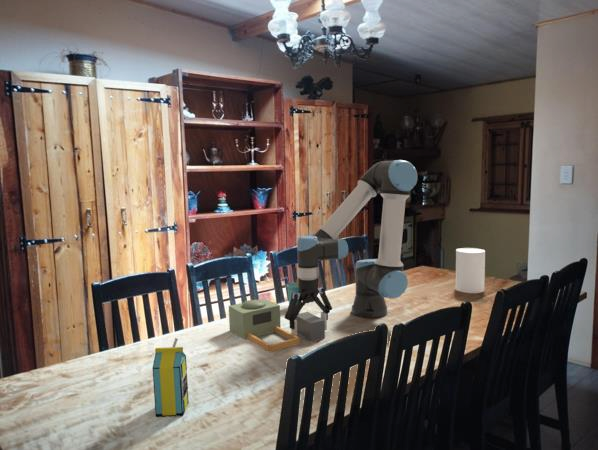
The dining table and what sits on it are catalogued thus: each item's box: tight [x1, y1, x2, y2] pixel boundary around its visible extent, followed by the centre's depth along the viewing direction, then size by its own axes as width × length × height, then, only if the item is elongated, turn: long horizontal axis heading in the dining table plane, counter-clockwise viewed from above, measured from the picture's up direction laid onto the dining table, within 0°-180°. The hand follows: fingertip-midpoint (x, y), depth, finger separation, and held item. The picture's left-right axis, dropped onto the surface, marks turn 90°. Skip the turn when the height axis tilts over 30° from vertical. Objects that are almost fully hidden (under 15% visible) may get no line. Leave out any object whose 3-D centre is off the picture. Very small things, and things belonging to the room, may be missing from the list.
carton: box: [152, 337, 189, 418], centre depth 121 cm, size 7×8×18 cm
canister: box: [455, 247, 486, 294], centre depth 229 cm, size 14×14×20 cm
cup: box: [279, 276, 303, 304], centre depth 206 cm, size 14×8×15 cm, turn 127°
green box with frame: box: [228, 298, 302, 353], centre depth 172 cm, size 16×28×11 cm, turn 34°
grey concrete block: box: [295, 311, 326, 342], centre depth 173 cm, size 6×12×7 cm, turn 30°
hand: (309, 333), depth 173 cm, fingers open, 13 cm apart
